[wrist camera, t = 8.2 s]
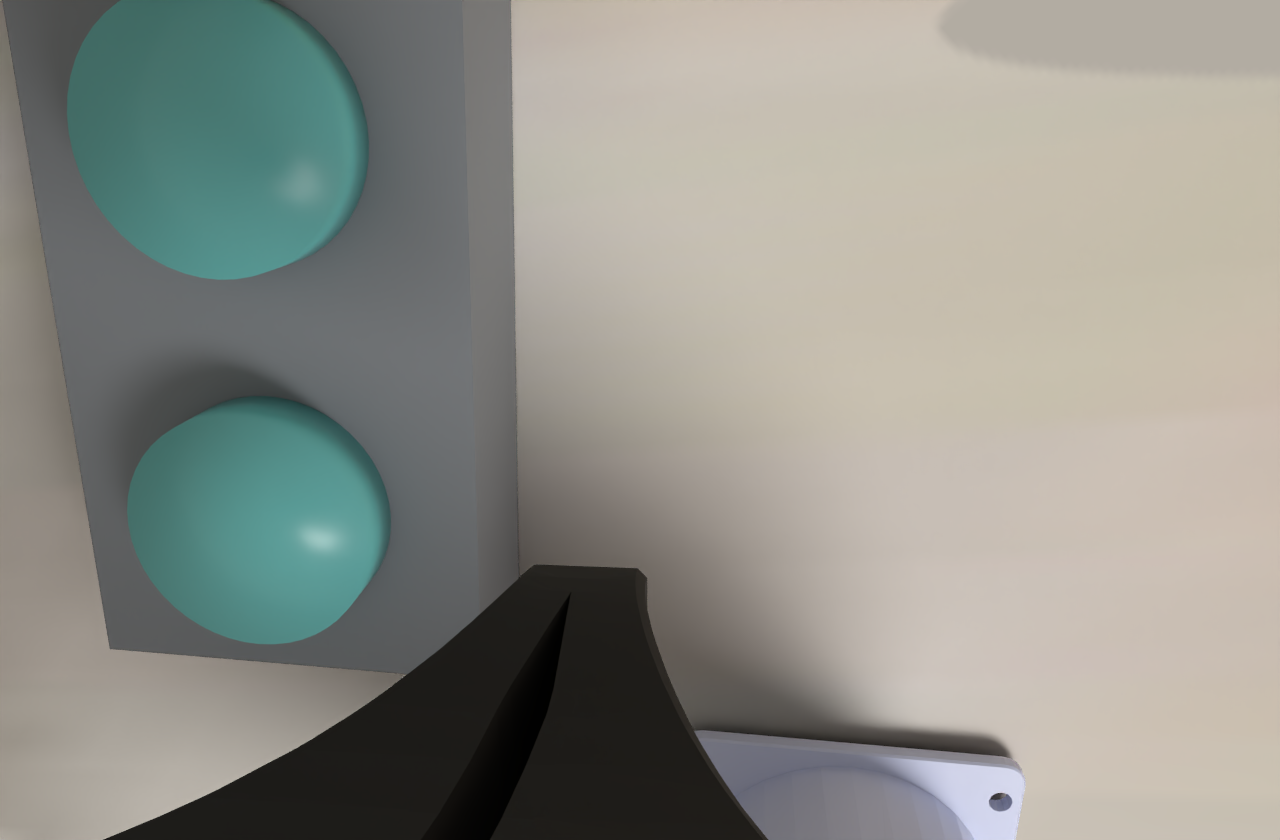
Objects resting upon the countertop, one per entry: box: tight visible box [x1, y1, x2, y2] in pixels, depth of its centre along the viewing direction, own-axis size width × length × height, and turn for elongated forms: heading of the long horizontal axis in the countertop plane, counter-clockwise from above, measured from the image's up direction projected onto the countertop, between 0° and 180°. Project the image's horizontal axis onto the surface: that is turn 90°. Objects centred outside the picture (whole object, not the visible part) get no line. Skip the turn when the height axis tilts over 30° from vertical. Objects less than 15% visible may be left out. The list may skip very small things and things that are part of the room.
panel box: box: [2, 0, 519, 674], centre depth 19 cm, size 14×8×3 cm, turn 179°
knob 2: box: [127, 396, 391, 644], centre depth 20 cm, size 5×5×4 cm
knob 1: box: [67, 0, 369, 280], centre depth 18 cm, size 5×5×4 cm
